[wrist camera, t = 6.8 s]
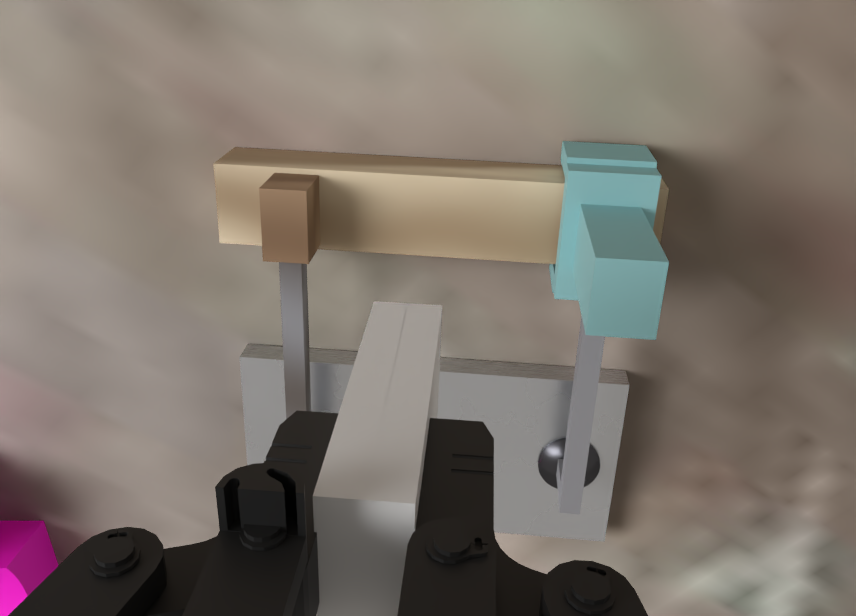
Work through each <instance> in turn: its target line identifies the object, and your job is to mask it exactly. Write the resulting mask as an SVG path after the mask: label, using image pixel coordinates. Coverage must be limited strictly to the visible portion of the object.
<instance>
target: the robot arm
mask: <svg viewBox="0 0 856 616" xmlns="http://www.w3.org/2000/svg"><path fill="white" fill-rule="evenodd" d="M441 326H442V305H429V304H413V303H397V302H381V301H374V302H373V306H372V309H371V312H370V315H369V318H368V322H367V325H366V328H365V331H364V334H363V337H362V341H361V344H360V347H359V350H358V353H357V357H356V360H355V363H354V366H353V369H352V372H351V376H350V379H349V382H348V385H347V388H346V391H345V395H344V398H343V401H342V404H341V407H340V411H339V413H327V412H312V411H298V410H297V411H296V412H294V413H293V414H292V415H291V416H290V417H289V418H287V419H286V420H285V421H284V422H283V423H281V424H280V425H279V427H278V430H277V432H276V435H275V437H274V439H273V442H272V446H270V449H269V451H268V453H267V456H266V461H264V463H255V464H251V465H247V466H244V467H240V468H237V469H235V470H234V471H232V472H230V473H229V474H227V475H225V476H224V477H223V478H222V479H221V481H220V482H219V483H218V484H217V486H216V487H215V489H216V498H217V508H218V517H219V527H220V531H219V534H218V536H217V537H214V538H212V539H209V540H207V541H204V542H200V543H196V544H192V545H185V546H179V547H173V548H167V549H163V544H162V543H161V541H160V540H159V539H158V537H157V536H156V535H155V534H153V533H151V532H149V531H147V530H145V529H141V528H132V527H124V528H118V529H111V530H108V531H105V532H103V533H100V534H98V535H95V536H93V537H91V538H90V539H88V540H87V541H86V542H84V543H83V544H81V545H80V546H79V547H77V548H76V549H75V550H74V551H73V552H72V553H71V554H70V555H69V556H68V557H67V558H66V559H65V560H64V561H63V562H62V563H61V564H60V565H59V566H58V567H57V568H56V569H55V570H54V571H53V572H52V573H51V574H50V575H49V576H48V577H47V578H46V579H45V580H44V581H43V582H42V583H41V584H40V585H39V586H38V587H37V588H35V589H34V590H33V591H32V592H31V593H30V594H29V595H28V596H27V597H26V598H25V599H24V600H23V601H22V602H21V603H20V604H19V605H18V606H17V607H16V608H15V609H14V610H13V611H12V612H11V613H10V614H9V615H8V616H316V614H317V616H648V615H647V613H646V611H645V609H644V607H643V605H642V603H641V601H640V599H639V597H638V595H637V593H636V591H635V590H634V588H633V587H632V586H631V584H630V583H629V582H628V581H627V579H626V578H625V577H624V576H623V575H621V574H620V573H618V572H617V571H615V570H614V569H612V568H611V567H609V566H605V565H602V564H599V563H596V562H593V561H579V560H574V561H570V562H566V563H562V564H559V565H558V566H556V567H555V568H554V569H552V570H551V571H550V572H548V574H544V573H541V572H538V571H535V570H532V569H530V568H527V567H525V566H523V565H521V564H518V563H517V562H515V561H514V560H513V559H511V558H510V557H508V556H507V555H506V554H505V553H504V551H503V550H502V549H501V548H500V547H499V545H498V543H497V541H496V539H495V534H494V438H493V436H492V435H491V433H490V432H489V430H488V429H487V427H486V425H485V424H484V422H483V421H468V420H454V419H439V418H437V413H438V393H439V371H440V348H441Z"/></svg>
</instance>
